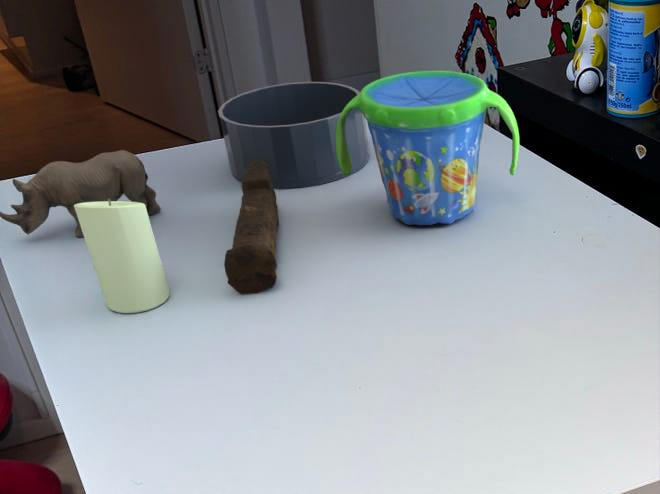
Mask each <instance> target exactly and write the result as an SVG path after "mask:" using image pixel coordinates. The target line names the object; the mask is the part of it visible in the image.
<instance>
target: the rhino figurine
mask: <svg viewBox="0 0 660 494" xmlns="http://www.w3.org/2000/svg"><path fill="white" fill-rule="evenodd" d="M148 180H149V175H148V173H147V172H146V168H145V165H144V163H143V161H142V160H141V159H140V158H139V157H138V156H137V155H135V154H134V153H132V152H129V151H128V150H124V149H120V150H116V151H109V152H102V153H98V154H97V155H95V156H93V157H92V158H90V159H88V160H84V161H82V162H70V161H64V160H58V161H52V162H49V163H47V164H46V165H44V166H43V167H42V168H40V170H39V171H37V173H36V174H34V175H33V177H32V178H30V179H29V180H28V181H27V182H23V181H20V180H17V179H15V178H12V184H13V186H14V187H15V189H16V190H17V191H18V192H19V193H21V194H22V203H21V204H10V207H11V209H13V210H14V211H15V214H8V213H3V212H2V211H0V218H1V219H2V220H3V221H6V222H9V223H10V224H13V225H15V226H16V225H17V226H19V227H20V228H21V231H23V232H24V233H25V234H26V235H30V234H32V233H33V232H35V230H38V228H40V226H41V225H43V224H44V223H45V222H46V220H47V219H48V218H49V216H50V210H51V208H57V207H63V208H66V210H67V211H68V213H69V215H70V216H72V217H73V219H74V221H75V222H76V229H75V233H74V234H75V237H76V238H84V235H83V232H82V229H81V226H80V223H79V220H78V217H77V214H76V211H75V208H74V205H75V204H79V203H85V202H101V201H108V199H110V201H119V200H120V198H122V196H125V198H127V199H128V200H130V202H139V203H143V204H145V206H146V210H147V213H148V215H153V214H155V213H158V212H160V211H161V209H162V207H161V206H160V205H159V204H158V203H157V201H156V200H157V199H156V197H157V193H156V191H155V189H153V188H152V187H150V186H149V185H148V184H147V183H148Z"/></svg>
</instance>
